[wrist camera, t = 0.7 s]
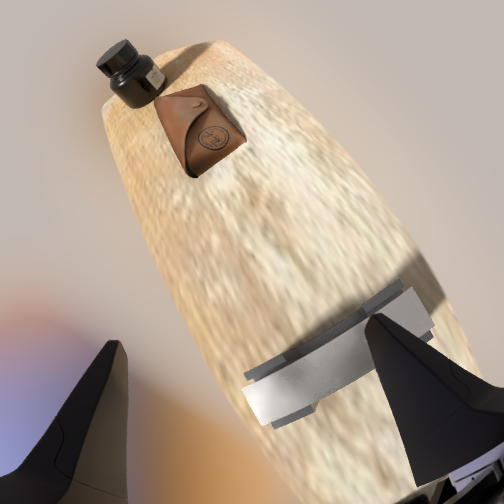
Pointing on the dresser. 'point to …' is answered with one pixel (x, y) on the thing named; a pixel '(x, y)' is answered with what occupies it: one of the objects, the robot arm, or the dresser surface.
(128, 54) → the ink bottle
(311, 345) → the standards
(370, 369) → the rail
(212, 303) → the dresser surface
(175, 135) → the sunglasses case
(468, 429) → the robot arm
